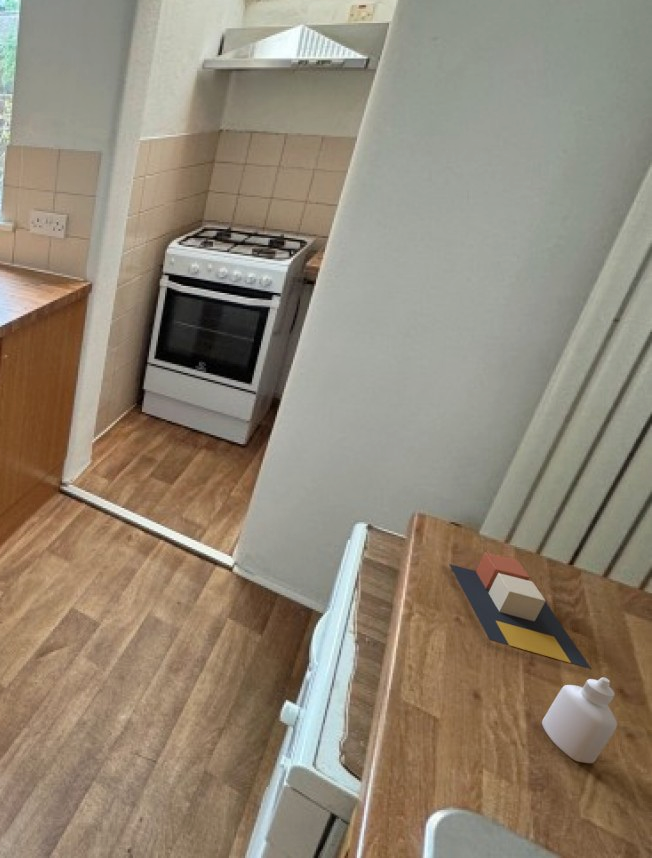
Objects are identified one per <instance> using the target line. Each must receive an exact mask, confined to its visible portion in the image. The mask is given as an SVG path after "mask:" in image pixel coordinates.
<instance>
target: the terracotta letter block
mask: <svg viewBox="0 0 652 858" xmlns="http://www.w3.org/2000/svg"><path fill="white" fill-rule="evenodd" d="M475 571H476V573H477V574H478V576H479V578H480V580H481V581H482V583H483V585H484V586H485V588H486V589H489V590H490V589H491V587H492V585H493V583H494V581H495V579H496V576H497V574H498V573H500V574H504V575H508V576H512V577H516V578H520V579H524V580H528V581H530V578H531V577H530V576H529V574H528V573H527V571H526V570H525V568H524V567H523V566H522V564H521V562H520V561H519V560H518V559H514V558H511V557H507V556H503V555H498V554H494V553H492V552H491V553H490V552H487V551H484V553H483V556H482V557H481V559H480V562H479V564H478V566H477V568H476V570H475Z"/></svg>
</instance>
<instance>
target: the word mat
mask: <svg viewBox="0 0 652 858" xmlns="http://www.w3.org/2000/svg"><path fill="white" fill-rule="evenodd" d="M448 565H449V567H450V569H451V571H452V572H453V575H454V576H455V578H456V580H457V582H458V585H460V588H461V589H462V591H463V593H464V595H465V597H466V599H467V601H468V602H469V604H470V606H471V608H472V611H473V612H474V615H476V618H477V619H478V622H479V623H480V625H481V627H482V628H483V630H484V632H485V634H486V636H487V638H488V640H489V641H492V642H496V643H499V644H503V645H507V646H509V647H513V648H517V649H519V650H524V651H527V652H530V653H534V654H537V655H540V656H544V657H548V658H551V659H554V660H558V661H561V662H563V663H564V662H565V663H568V664H572V665H575V666H579V667H583V668H586V669H590V670H592V667H591V666H590V664H589V663H588V661H587V660H586V658H585V657H584V656H583V654H582V652H581V651H580V650H579V648H578V647H577V645H576V644H575V642H574V641H573V639H572V638H571V636H570V635H569V634H568V632H567V631H566V629H565V628H564V626H563V625H562V623H561V622H560V620H559V619H558V618H557V616H556V615H555V613H554V612H553V610H552V608H551V607H550V606H549V604H548V603H547V601H545V603H544V605H543V607H542V609H541V610H540V612H539V614H538V616H537V618H536V620H535V621H531V620H527V619H524V618H520V617H516V616H513V615H509V614H505V613H502V612H499V610H498V609H497V607H496V605H495V603H494V602H493V600H492V598H491V597H490V595H489V591H490V590H489V589H486V588H485V586H484V585H483V583H482V581H481V580H480V578H479V576H478V574H477V573H476V570H475V569H470V568H466V567H463V566H459V565H454V564H448Z"/></svg>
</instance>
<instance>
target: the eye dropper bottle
mask: <svg viewBox="0 0 652 858" xmlns="http://www.w3.org/2000/svg"><path fill="white" fill-rule="evenodd" d="M610 682H611V681H610V679H608V678H607V677H604V676H602V677H600V678H599V679H594V678H589V679H587V680H586V681H585V683H584V685H583V686H580V685H573V684H566V685H563V687H561V689H560V690H559V692H558V694H557V695H556V697H555V699H554V700H553V702H552V703H551V705H550V707H549V709H548V710H547V712H546V713H545V715H544V717H543V719H542V721H541V725H542V727H543V729H544V731H545V733H546V735H547V736H548V737H549V739H550V740H551V741H552V742H553V743H554V745H556V746H557V747H558V749H560V751H561V752H563V753H564V754H565V755H566V756H568V757H569V758H570V759H571V760H573V761H576V762H578V763H584V764H594V763H595V762H596V761H597V759H598V757H599V756H600V754H601V753H602V751H603V750H604V749H605V747H606V745H607V744H608V742H609V741H610V739H611V738H612V736H613V734H614V732H616V729H617V726H618V722H617V720H616V717H615V716H614V713H613V712H612V710H611V708H610V707H609V705H610V703H611V702H612V701H613V699H614V697H615V694H616V693H615V691H614V690H613V689H612V688H611V687H610Z"/></svg>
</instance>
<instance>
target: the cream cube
mask: <svg viewBox="0 0 652 858" xmlns="http://www.w3.org/2000/svg"><path fill="white" fill-rule="evenodd" d="M489 595H490V597H491V598H492V600H493V602H494V603H495V605H496V607H497V609H498V610H499V612H502V613H505V614H509V615H513V616H516V617H520V618H524V619H527V620H531V621H535V620H536V618H537V616H538V614H539V612H540V610H541V609H542V607H543V605H544V603H545V602H546V600H545V598H544V596H543V595H542V593H541V592H540V591H539V589H538V587H537V586H536V584H535V583H534V582H533V581H531V580H524V579H520V578H516V577H512V576H508V575H504V574H500V573H498V574H497V576H496V579H495V581H494V583H493V585H492V587H491V589H490V591H489Z"/></svg>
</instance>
